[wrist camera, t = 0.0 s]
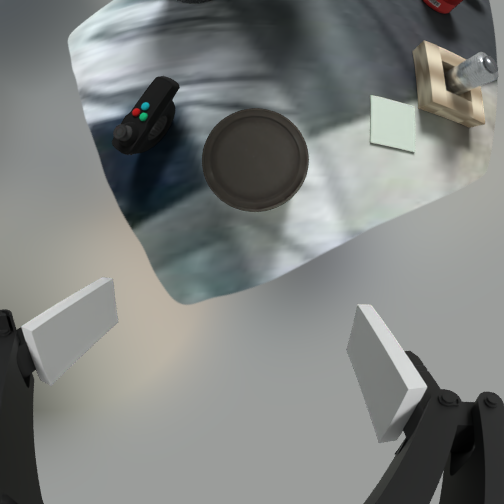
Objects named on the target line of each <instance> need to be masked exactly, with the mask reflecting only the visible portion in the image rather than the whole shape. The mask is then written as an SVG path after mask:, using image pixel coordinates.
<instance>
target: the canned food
mask: <svg viewBox="0 0 504 504" xmlns="http://www.w3.org/2000/svg"><path fill="white" fill-rule="evenodd" d="M423 1H424V2H425V3H426V4H427V5H428V6H429V7H431V8H432V9H434V10H435V11H437V12H440V13H443V14H446V13H449V12H450V11H451V10H453V9H454V8H455V7H456V6H457V5H458V4H459V3H460V2H462V1H463V0H423Z"/></svg>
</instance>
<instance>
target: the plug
mask: <svg viewBox="0 0 504 504" xmlns="http://www.w3.org/2000/svg"><path fill="white" fill-rule="evenodd" d="M497 78H498V67H497V64H496V62H495V61H494V60H493V58H491V57H490V56H488V55H486V54H485V53H483V52H479V53H477V54H476V55H474V56H472V57H471V58H469V59H467V60H465V61H464V62H462V63H460V64H459V65H457V66H455V67H454V68H452V69H450V70H449V71H447V72H446V73H444V79H445V86H446V91H448V92H451V93H453V94H455V95H457V96H458V95H460V94H462V93H465V92H467V91H469V90H472V89H474V88H476V87H479V86H481V85H484V84H486V83H489V82H491V81H494V80H496V79H497Z"/></svg>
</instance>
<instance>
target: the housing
mask: <svg viewBox="0 0 504 504" xmlns="http://www.w3.org/2000/svg"><path fill="white" fill-rule="evenodd" d="M413 58H414V65H415V73H416V82H417V94H418V109H421V110H424V111H427V112H430V113H433V114H436V115H438V116H441V117H444V118H447V119H449V120H452V121H454V122H457V123H459V124H462V125H464V126H466V127H469V128H470V127H474V126H479V125H483V124H485V117H484V107H483V100H482V93H481V87H480V86H479V87H476V88H474V89H472V90H469V91H467V92H465V93H462V94H460V95H458V96H457V95H455V94H453V93H451V92H448V91H446V86H445V79H444V73H446V72H447V71H449V70H450V69H452V68H454V67H455V66H457V65H459V64H460V63H462V62H464V61H465V60H466V59H464V58H462V57H460V56H458V55H456V54H454V53H452V52H450V51H448V50H445V49H443V48H441V47H439V46H436V45H434V44H432V43H429V42H427V41H423V42H422V43H421V44H420V45H419V46H418V47H417V48H416V49H415V50H413Z"/></svg>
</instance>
